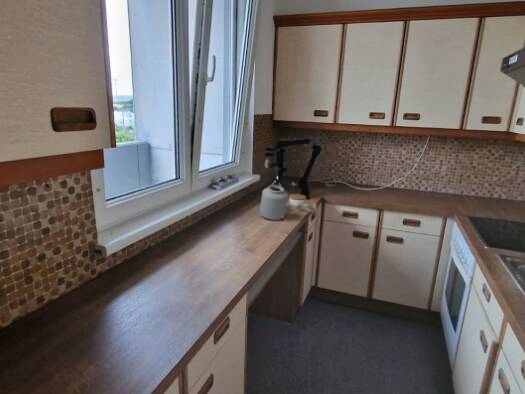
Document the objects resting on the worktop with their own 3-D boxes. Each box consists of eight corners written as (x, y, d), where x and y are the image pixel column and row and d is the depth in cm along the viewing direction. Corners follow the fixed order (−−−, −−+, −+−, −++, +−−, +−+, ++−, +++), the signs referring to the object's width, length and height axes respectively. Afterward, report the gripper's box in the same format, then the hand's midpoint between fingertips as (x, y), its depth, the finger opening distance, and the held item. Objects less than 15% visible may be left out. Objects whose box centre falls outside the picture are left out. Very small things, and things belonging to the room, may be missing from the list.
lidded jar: (307, 207, 230) (308, 193, 227) (302, 211, 220) (303, 196, 218) (291, 204, 234) (292, 191, 231) (286, 208, 224) (286, 194, 222)
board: (314, 210, 224) (314, 204, 223) (315, 211, 221) (316, 205, 220) (283, 210, 220) (283, 204, 219) (284, 211, 217) (284, 205, 216)
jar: (293, 221, 199) (295, 178, 193) (269, 224, 193) (271, 179, 187) (277, 212, 216) (279, 172, 209) (255, 215, 209) (256, 173, 203)
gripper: (266, 155, 255) (264, 176, 259) (271, 159, 237) (270, 182, 241) (281, 155, 257) (279, 176, 261) (287, 159, 239) (286, 182, 243)
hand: (278, 179), depth 252 cm, fingers closed
